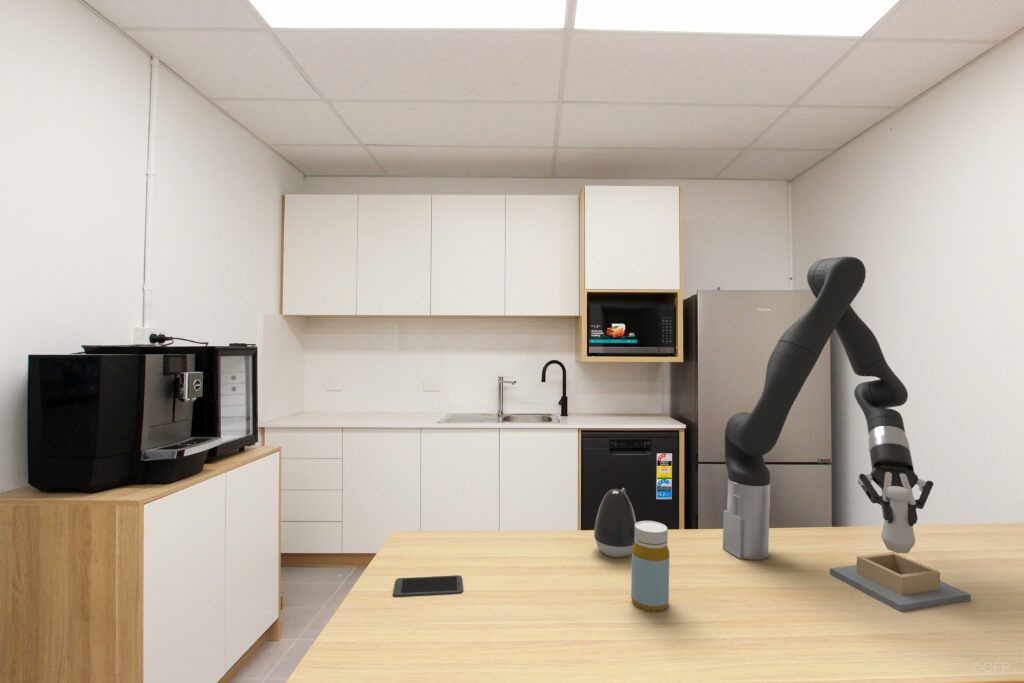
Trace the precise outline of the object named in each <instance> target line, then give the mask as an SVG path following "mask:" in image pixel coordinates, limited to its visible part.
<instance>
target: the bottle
mask: <svg viewBox="0 0 1024 683" xmlns="http://www.w3.org/2000/svg"><path fill="white" fill-rule="evenodd" d="M668 532H669V529H668V526H666V525H665V523H664V524H663V523H661V522H658V521H654V520H640V521H636V524H635V534H634V535H635V542H634V545H633V547H632V552H631V582H630V583H631V586H630V587H631V588H630V592H631V593H630V594H631V595H630V598H631V601H632V602H633V603H634V606H636V607H637V608H639V609H641V610H643V611H648V612H659V611H662V610H665V608H667V607H668V605H669V596H670V550H669V546H668V534H669V533H668Z"/></svg>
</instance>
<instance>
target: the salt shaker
mask: <svg viewBox="0 0 1024 683" xmlns="http://www.w3.org/2000/svg"><path fill="white" fill-rule="evenodd" d="M886 495H887V497H888V498H890V500H889V503H890V506H891V507H892V513H893V522H892V523H888V520H884V521H883V526H882V529H881V536H880V537H881V540H882V542H883V544H884V546H885V547H886V549H887V550H888V551H890V552H894V553H897V554H907V555H908V554H909V553H910V551H911V550H912V548H913V547H914V546H915V544H916V538H915V531H914V525H913V526H909V515H908V501H910V500H911V496H912V494H911V491H910V490H909V489H907V488H904V487H899V486H890V487H888V488H887V491H886Z"/></svg>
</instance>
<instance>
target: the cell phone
mask: <svg viewBox="0 0 1024 683" xmlns="http://www.w3.org/2000/svg"><path fill="white" fill-rule="evenodd" d="M463 580H464V579H463V577H462V575H458V574H457V575H437V576H433V575H432V576H417V577H415V576H414V577H398V578H396V579H395V582H394V585H393V586H394V587H393V592H392V596H393V597H394V598H405V597H407V598H408V597H425V596H441V595H442V596H443V595H457V594H458V595H459V594H461V595H462V594H463V593H464V581H463Z"/></svg>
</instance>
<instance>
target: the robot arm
mask: <svg viewBox="0 0 1024 683" xmlns="http://www.w3.org/2000/svg"><path fill="white" fill-rule="evenodd" d="M866 273H867V271H866V266H865V265H864V263H863V261H862V260H861V259H860V258H857V257H855V256H838V257H829V258H823V259H819V260H816V261H814V262H813V263H812V265H810V267H809V268H808V271H807V274H806V280H807V283H808V284H807V285H808V287H809V289H810V290H811V292H812V295H813V296H814V298H815V301H814V302H813V303H812V305H811V306H810V308H808V309H807V311H806V312H805V313H804V314H802V315H801V316H800V317H799V318H798V319H797V320H796V321H794V323H792V324H791V325H790V326H789V327H788V328H787V329H786V330H785V331H784V332H783V334H782V335H781V336H780V338H779V339H778V340H777V341H778V342H777V343H776V344H775V346H774V349H773V351H772V352H771V354H770V356H769V359H768V361H767V365H766V369H765V370H766V371H765V379H764V380H765V381H764V386H763V390H762V393H761V395H760V397H759V399H758V401H757V403H756V405H755V406H754V408H753V409H752V411H751V412H746V411H739V412H736V413H734V414H733V415H731V416H730V418H729V419H728V421H727V423H726V425H725V430H724V463H725V466H726V470H727V500H726V501H727V505H726V507H727V509H724V510H723V517H722V518H723V522H722V523H723V524H722V527H723V528H722V530H723V531H722V549H723V550H725V551H726V552H728V553H730V554H731V555H733V556H734V557H736V558H738V559H746V560H756V561H758V560H759V561H760V560H763V559H764V560H765V559H767V558H768V557H769V550H770V549H769V543H770V506H771V503H770V500H771V498H770V497H771V473H770V470H769V469H768V468H769V467H767V465H766V463H765V459H764V455H766V454H768V453H769V452H771V451H772V450H773V449H774V447H775V446H776V444H777V442H778V440H779V438H780V435H781V433H782V430H783V428H784V426H785V423H786V420H787V417H788V416H789V414H790V413H789V412H790V411H791V409H792V407H793V405H794V403H795V401H796V400H797V397H798V396H799V394H800V392H801V390H802V388H803V386H804V384H805V383H806V381H807V379H808V377H809V375H810V374H811V373H812V370H813V369H814V367H815V365H817V364H816V363H817V362H818V360H819V358H820V356H821V354H822V352H823V350H824V348H825V346H826V344H827V343H828V340H829V339H830V337H831V335H832V334H833V332H834V331H835V332H836V334H837V337H838V338H839V340H840V341H841V343H842V347H843V348H844V351H845V354H846V356H847V359H848V362H849V364H850V367H851V369H852V371H853V372H854V374H855V375H856V376H858V377H874V378H878V379H874V380H870V381H863V382H860V383H858V384H857V386H856V387H855V388H854V390H853V391H854V392H853V393H854V398H855V400H856V403H857V404H858V405H859V407H860V409H861V411H862V413H863V414H864V418H865V420H866V426H867V433H868V451H869V457H870V465H871V471H870V473H869V474H864V473H860V474H859V475H858V480H857V483H858V484H859V485H860V487H861V488H862V491H863V492H864V494H865V495H866V497H867V498H868V499H869V501H870V502H871V503H872V504H878V505H879V506H881V510H882V511H881V512H882V517H883V520H884V521H885V520H888V523H892V522H893V513H892V507H891V506H890V503H889V500H890V498H888V497H887V495H886V491H887V488H888V487H890V486H899V487H904V488H907V489H909V490H910V491H911V494H912V496H911V500H910V501H908V515H909V526H913V527H914V525H916V524H917V521H918V518H919V517H918V512H917V509H920V510H922V509H924V508H925V505H926V503H927V500H928V498H929V495H930V493H931V491H932V488H933V486H934V482H933V481H932V480H926V481H925V480H923V479H920V478H919V477H918V474H916V472H915V471H914V470H915V469H914V464H913V459H912V454H911V449H910V444H909V443H910V442H909V440H908V438H907V434H906V430H905V424H904V419H903V416H902V414H901V412H899V411H898V410H896V409H893V408H896V407H900V406H901V407H902V406H903V405H904V404H906V403H907V401H908V398H909V395H908V390H907V387H906V386H905V384H904V383H903V382H902V380H900V378H899V377H898V376H897V375H896V374H895V372H894V371H893V370H892V368H891V367H890V365H889V364H888V363H887V361H886V359H885V356H884V353H883V351H882V349H881V346H880V343H879V340H877V339H878V338H877V337H876V335H875V334H874V333H873V331H872V330H871V328H870V327H869V326H868V325H867V324H866V323H865V321H863V319H862V318H861V317H860V316H859V315H858V314H857V313H856V311H855V310H854V308H853V307H852V302H853V301H854V300H855V298H856V297H857V296H858V294H859V293H860V292H861V289H862V288H863V285H864V283H865V280H866V277H867V276H866ZM872 482H874V484H876V485H877V486H878V487H879V488H880V489H881V495H880V494H879V492H877V490H876V489H875V487H874V486H873V483H872ZM915 486H918V490H919V491H920V492H921V494H920V495H919V498H918V499H915V497H914V495H913V493H914V492H913V490H912V489H913V488H914V487H915Z"/></svg>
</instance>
